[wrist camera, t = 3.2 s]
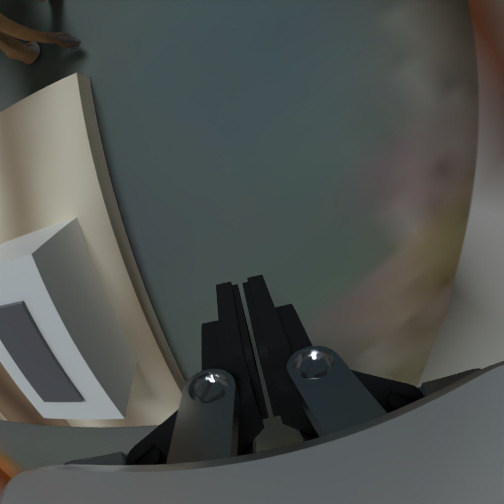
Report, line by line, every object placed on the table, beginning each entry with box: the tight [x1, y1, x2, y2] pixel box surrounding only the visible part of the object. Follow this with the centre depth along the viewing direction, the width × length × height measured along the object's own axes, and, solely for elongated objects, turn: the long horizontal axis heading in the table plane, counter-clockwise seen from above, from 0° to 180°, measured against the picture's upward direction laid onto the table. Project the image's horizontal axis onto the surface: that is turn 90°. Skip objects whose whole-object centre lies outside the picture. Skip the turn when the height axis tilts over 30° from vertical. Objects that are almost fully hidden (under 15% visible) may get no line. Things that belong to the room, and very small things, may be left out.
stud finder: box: [0, 217, 137, 419], centre depth 11 cm, size 5×8×4 cm, turn 10°
